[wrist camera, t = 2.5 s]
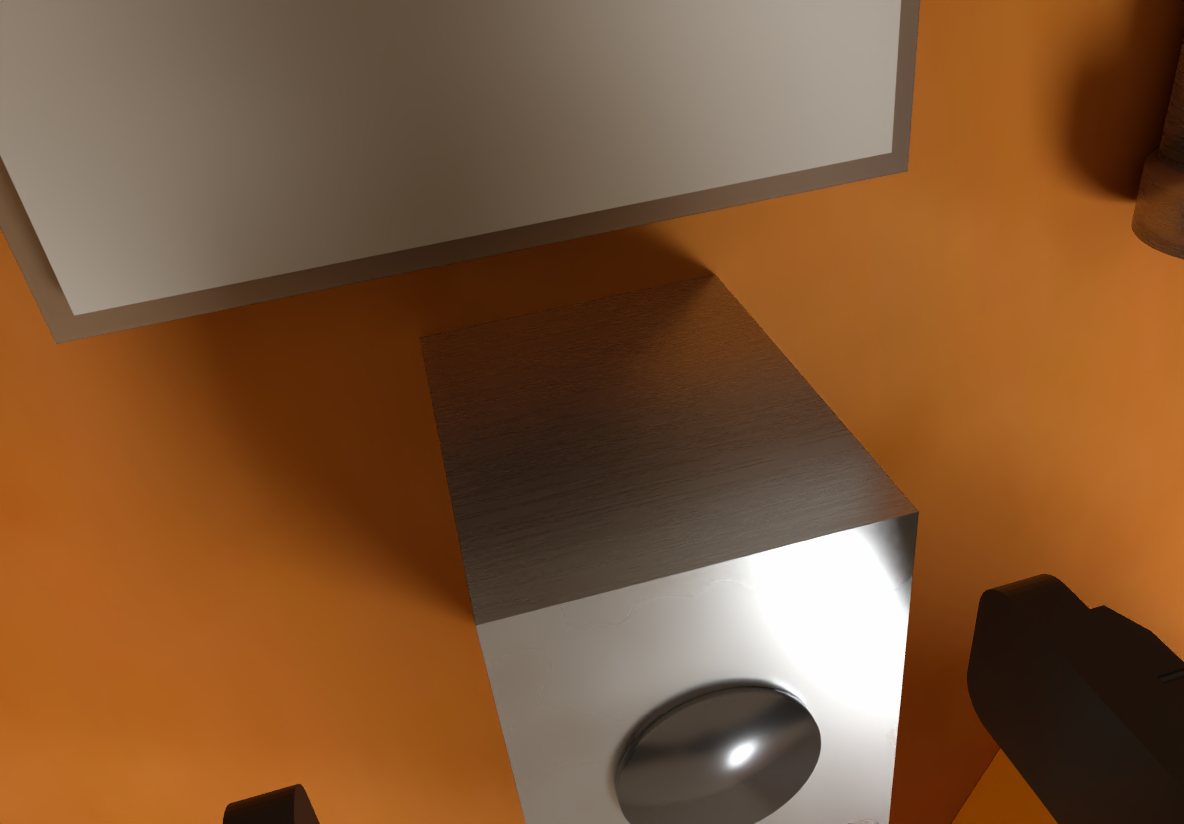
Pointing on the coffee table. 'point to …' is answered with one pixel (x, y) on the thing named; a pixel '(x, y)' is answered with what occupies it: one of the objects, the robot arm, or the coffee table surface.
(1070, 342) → the coffee table surface
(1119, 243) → the coffee table surface
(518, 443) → the block
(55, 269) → the stand
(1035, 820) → the orange juice
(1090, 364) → the coffee table surface
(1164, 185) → the steel bolt
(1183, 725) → the robot arm
